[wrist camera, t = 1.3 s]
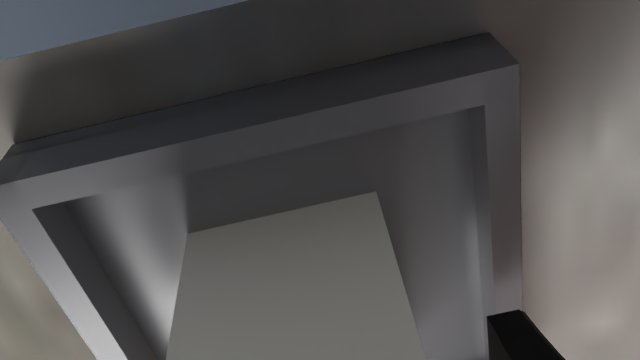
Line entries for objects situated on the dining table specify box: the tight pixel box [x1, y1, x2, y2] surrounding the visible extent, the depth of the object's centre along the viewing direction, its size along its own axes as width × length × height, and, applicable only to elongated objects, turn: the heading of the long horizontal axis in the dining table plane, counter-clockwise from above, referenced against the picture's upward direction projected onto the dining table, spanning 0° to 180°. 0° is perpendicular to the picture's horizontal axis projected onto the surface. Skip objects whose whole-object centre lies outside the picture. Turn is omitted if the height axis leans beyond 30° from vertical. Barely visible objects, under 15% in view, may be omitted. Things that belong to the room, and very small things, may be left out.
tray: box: [0, 32, 522, 360], centre depth 13 cm, size 9×10×2 cm
